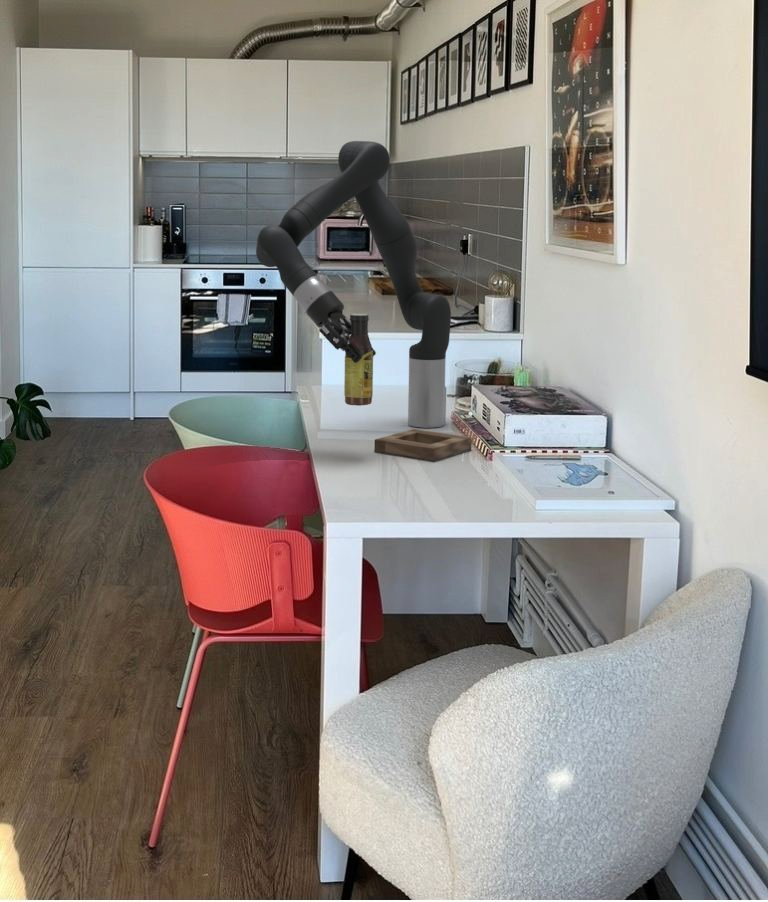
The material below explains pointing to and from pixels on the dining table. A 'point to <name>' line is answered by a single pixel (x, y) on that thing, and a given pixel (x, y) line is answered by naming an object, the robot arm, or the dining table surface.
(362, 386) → the sauce bottle
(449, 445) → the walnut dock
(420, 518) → the dining table surface
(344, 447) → the dining table surface
